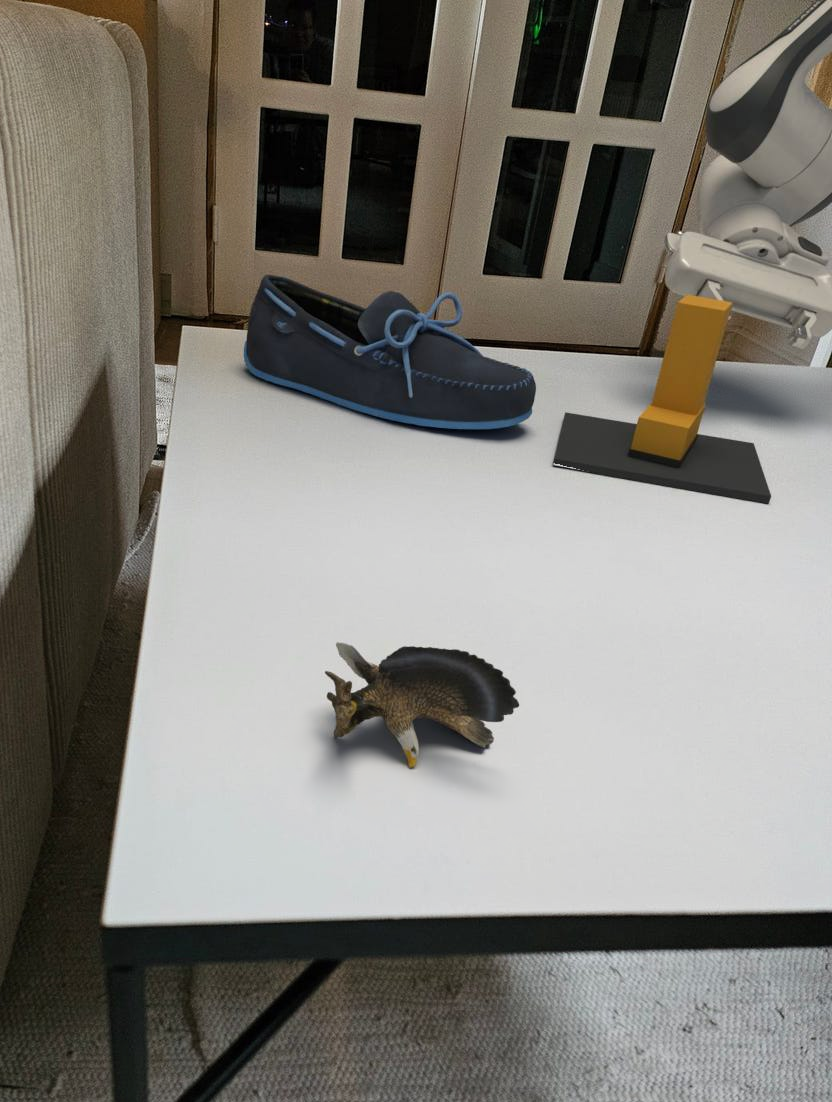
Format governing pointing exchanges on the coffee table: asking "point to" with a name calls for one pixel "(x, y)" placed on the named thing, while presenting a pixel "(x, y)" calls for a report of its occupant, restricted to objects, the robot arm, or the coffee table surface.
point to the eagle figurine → (423, 694)
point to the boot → (682, 382)
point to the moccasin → (381, 359)
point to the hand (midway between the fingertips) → (762, 331)
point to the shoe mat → (702, 470)
